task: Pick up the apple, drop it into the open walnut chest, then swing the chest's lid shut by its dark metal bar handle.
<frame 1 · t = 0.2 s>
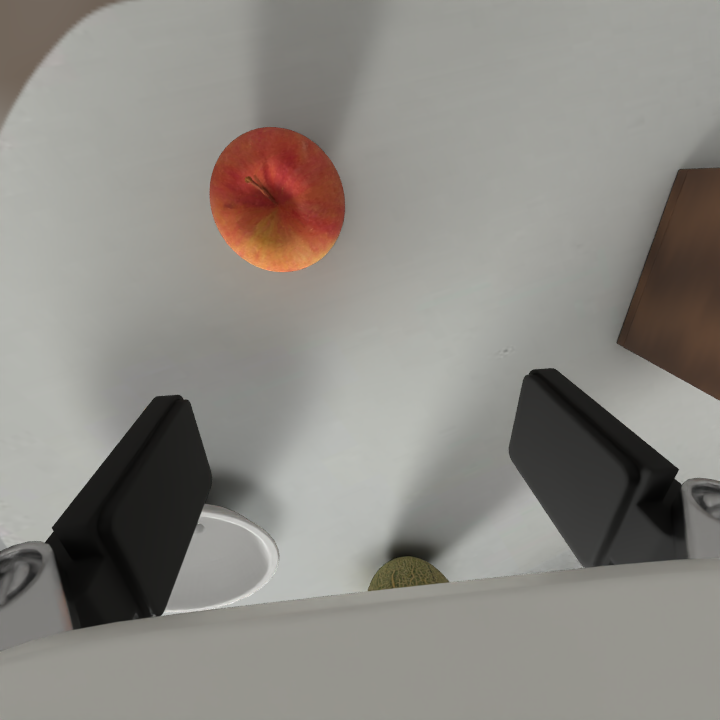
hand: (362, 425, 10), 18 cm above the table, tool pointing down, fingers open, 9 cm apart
fruit: (402, 564, 43), on the table
chest: (704, 264, 28), on the table
dish: (199, 518, 37), on the table
apple: (287, 200, 24), on the table
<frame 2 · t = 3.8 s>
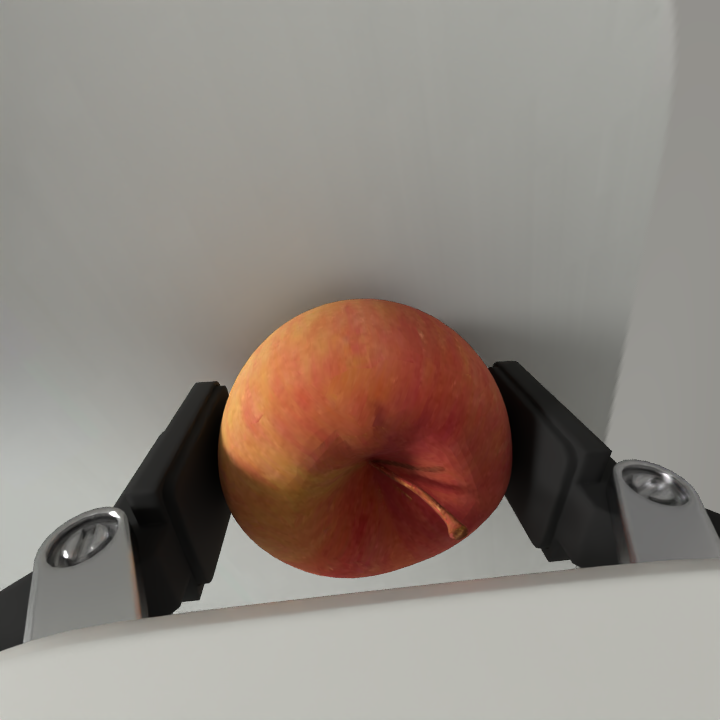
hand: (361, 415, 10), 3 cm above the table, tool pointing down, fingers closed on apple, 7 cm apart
apple: (352, 362, 13), on the table, touching gripper
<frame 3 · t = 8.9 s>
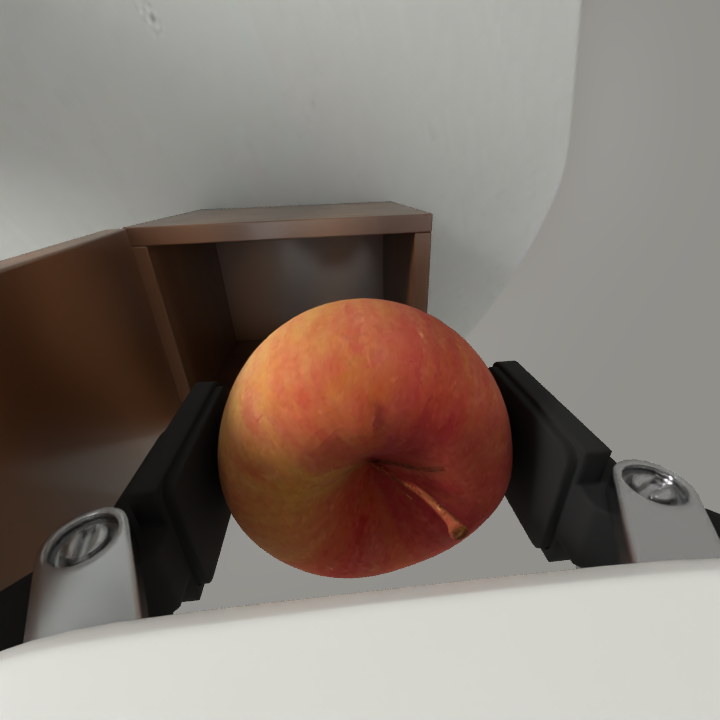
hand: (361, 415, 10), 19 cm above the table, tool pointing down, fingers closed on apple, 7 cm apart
chest: (305, 279, 27), on the table
lid: (15, 449, 10), point 19 cm above the table, hinge at 81.4°
apple: (353, 361, 13), point 16 cm above the table, touching gripper
when the fingers open (11 cm above the table, at t = 11.6 s): apple drops 5 cm, resting on chest.
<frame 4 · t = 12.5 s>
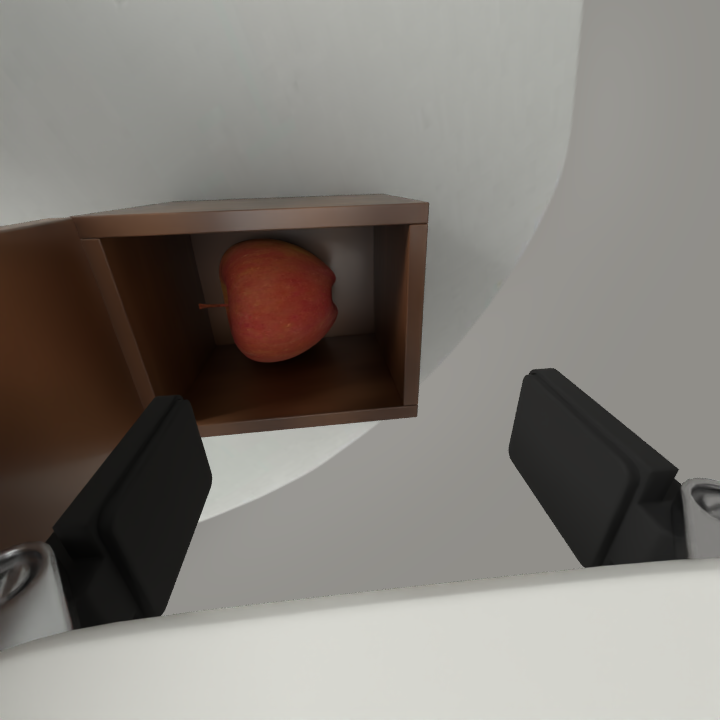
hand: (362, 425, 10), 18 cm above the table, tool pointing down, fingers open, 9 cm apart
chest: (290, 277, 25), on the table
apple: (336, 293, 23), point 3 cm above the table, touching chest
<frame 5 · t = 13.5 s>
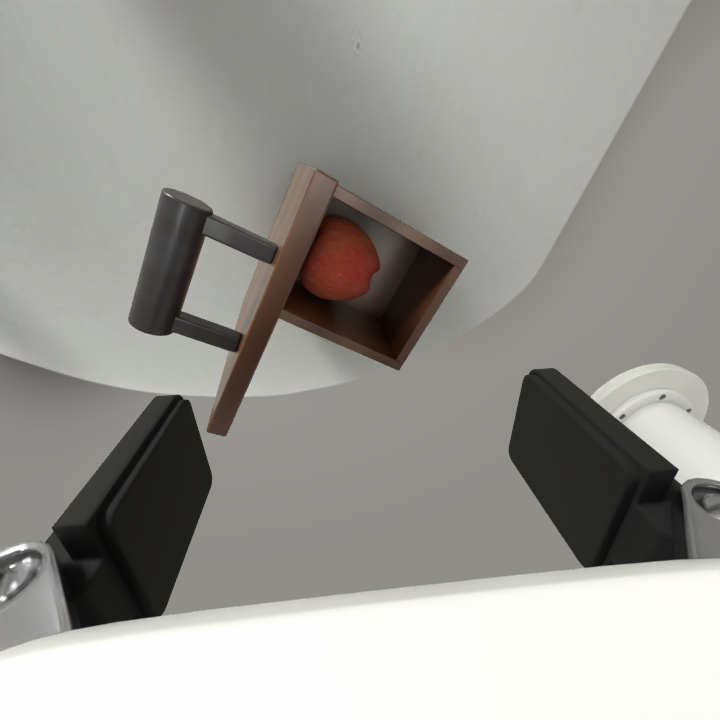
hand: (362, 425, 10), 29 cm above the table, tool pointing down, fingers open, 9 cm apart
chest: (349, 256, 36), on the table
lid: (231, 252, 18), point 19 cm above the table, hinge at 83.6°
apple: (374, 279, 34), point 4 cm above the table, touching chest
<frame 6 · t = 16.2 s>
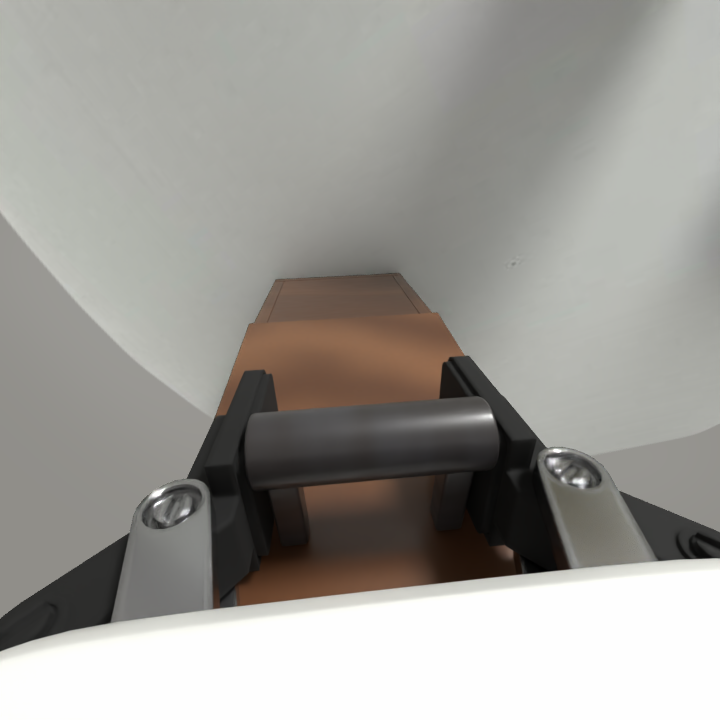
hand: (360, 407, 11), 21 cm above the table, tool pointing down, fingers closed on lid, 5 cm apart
chest: (342, 348, 33), on the table
lid: (354, 366, 13), point 19 cm above the table, hinge at 83.6°, touching gripper
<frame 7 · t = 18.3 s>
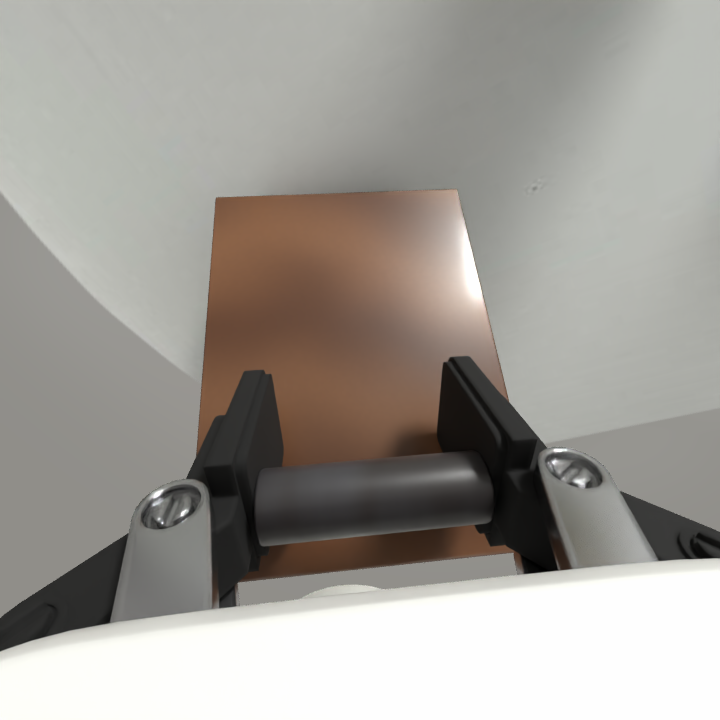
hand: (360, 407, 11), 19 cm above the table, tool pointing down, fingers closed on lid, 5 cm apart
lid: (353, 322, 11), point 18 cm above the table, hinge at 45.4°, touching gripper
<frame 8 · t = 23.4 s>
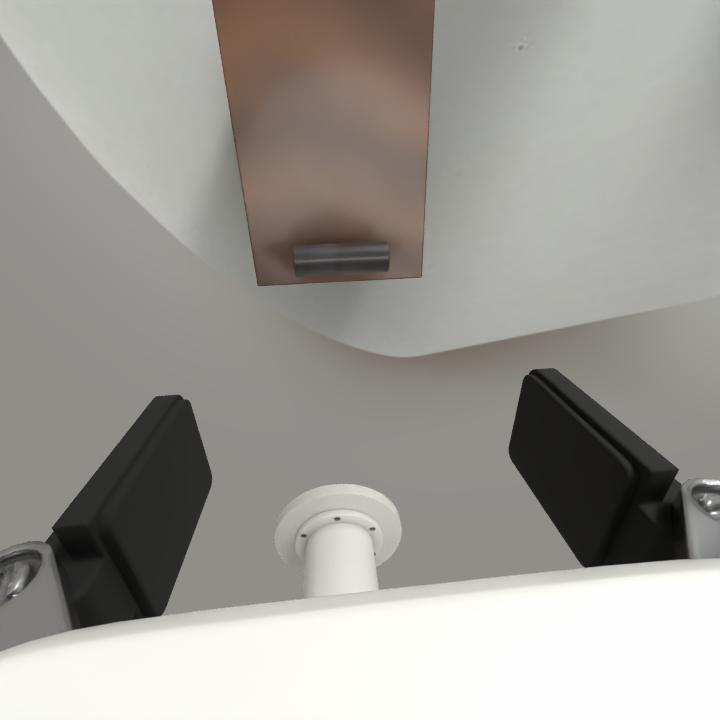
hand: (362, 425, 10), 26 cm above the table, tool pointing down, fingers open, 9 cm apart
lid: (334, 149, 18), point 13 cm above the table, hinge at 1.0°
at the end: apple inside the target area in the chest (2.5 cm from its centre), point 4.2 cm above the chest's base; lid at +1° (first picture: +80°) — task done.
